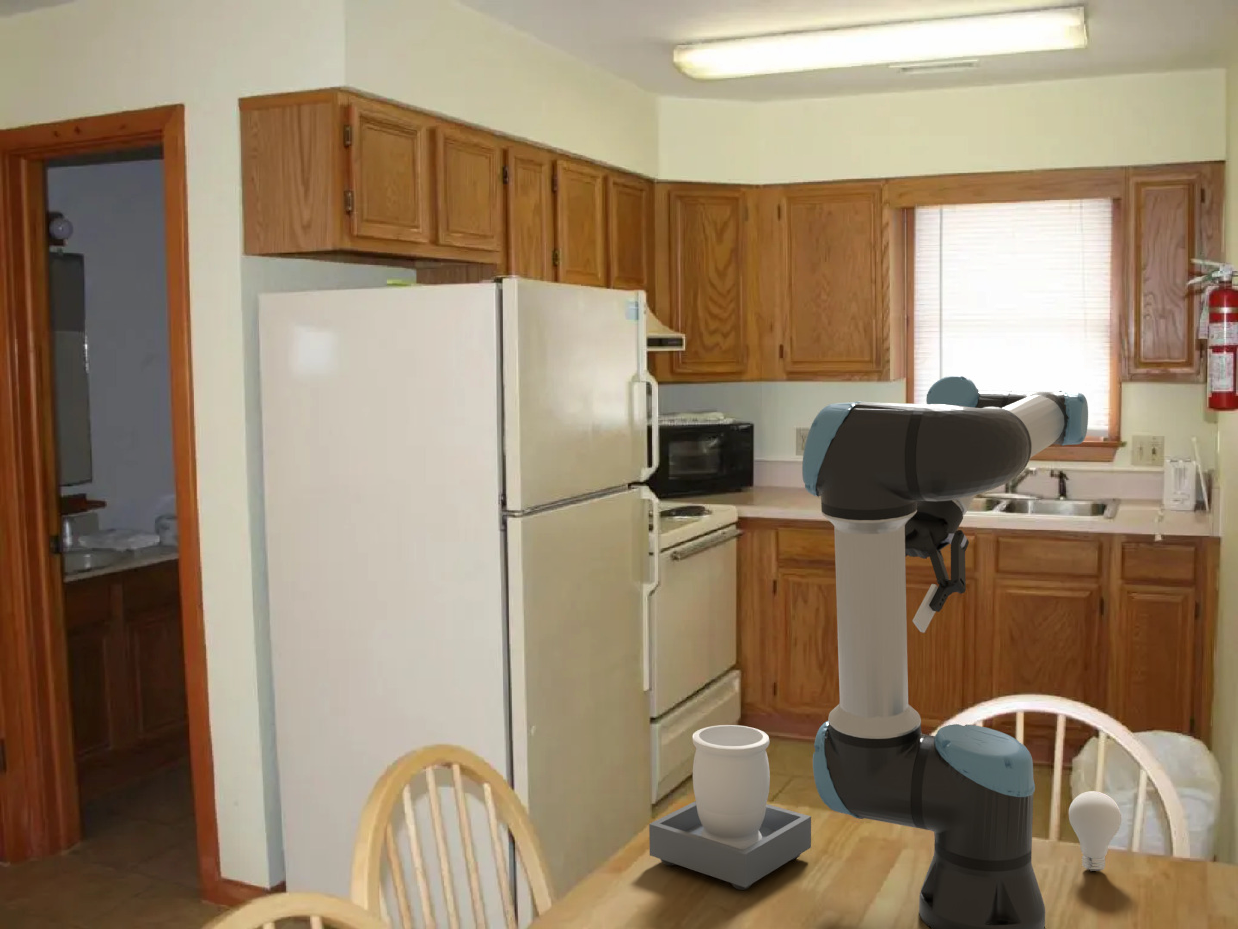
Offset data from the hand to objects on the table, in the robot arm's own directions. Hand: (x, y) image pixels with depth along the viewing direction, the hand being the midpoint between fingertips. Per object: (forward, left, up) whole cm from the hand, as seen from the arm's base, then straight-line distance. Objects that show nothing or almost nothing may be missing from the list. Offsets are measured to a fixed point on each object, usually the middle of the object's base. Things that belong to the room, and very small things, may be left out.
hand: (879, 619), depth 183 cm
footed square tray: (+10, +23, -31) cm, 40 cm away
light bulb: (-30, -5, -32) cm, 44 cm away
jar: (+10, +23, -29) cm, 38 cm away
